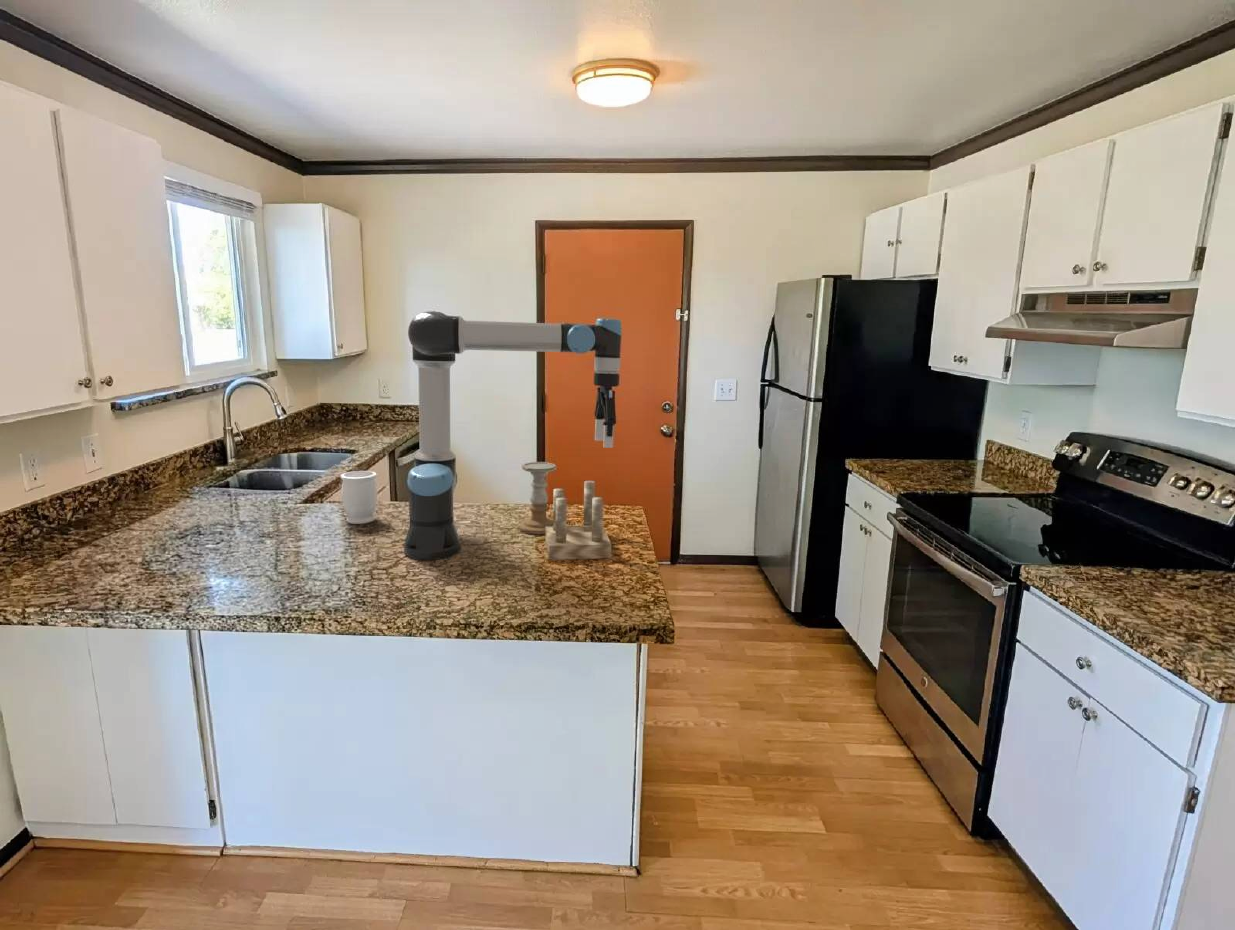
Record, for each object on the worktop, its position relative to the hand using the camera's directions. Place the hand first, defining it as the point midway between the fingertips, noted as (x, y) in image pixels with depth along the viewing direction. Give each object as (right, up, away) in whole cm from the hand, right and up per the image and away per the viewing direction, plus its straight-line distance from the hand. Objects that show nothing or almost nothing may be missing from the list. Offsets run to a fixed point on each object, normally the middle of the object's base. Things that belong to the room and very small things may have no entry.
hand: (603, 444), depth 199 cm
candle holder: (-20, -26, +7) cm, 34 cm away
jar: (-77, -24, +10) cm, 81 cm away
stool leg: (-5, -27, +5) cm, 28 cm away
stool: (-7, -30, -9) cm, 32 cm away
